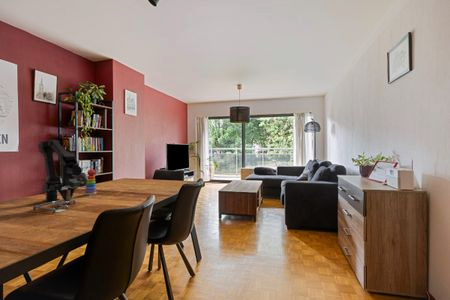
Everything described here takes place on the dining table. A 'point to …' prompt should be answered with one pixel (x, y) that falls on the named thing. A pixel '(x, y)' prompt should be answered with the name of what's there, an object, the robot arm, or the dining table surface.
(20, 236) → the dining table surface
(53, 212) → the rails leg
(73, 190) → the robot arm
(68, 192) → the walnut peg
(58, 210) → the sage coaster
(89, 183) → the stacking toy
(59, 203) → the rail leg
